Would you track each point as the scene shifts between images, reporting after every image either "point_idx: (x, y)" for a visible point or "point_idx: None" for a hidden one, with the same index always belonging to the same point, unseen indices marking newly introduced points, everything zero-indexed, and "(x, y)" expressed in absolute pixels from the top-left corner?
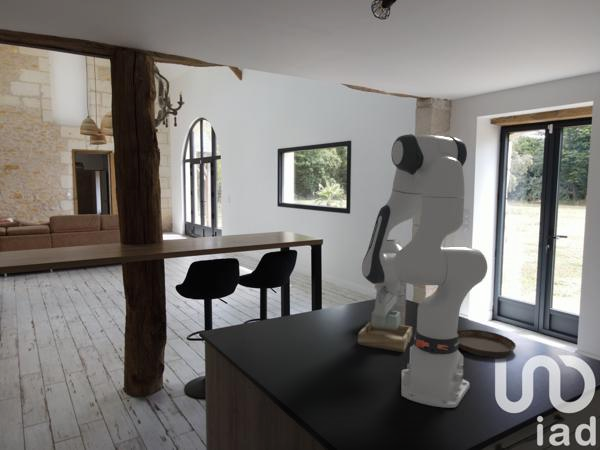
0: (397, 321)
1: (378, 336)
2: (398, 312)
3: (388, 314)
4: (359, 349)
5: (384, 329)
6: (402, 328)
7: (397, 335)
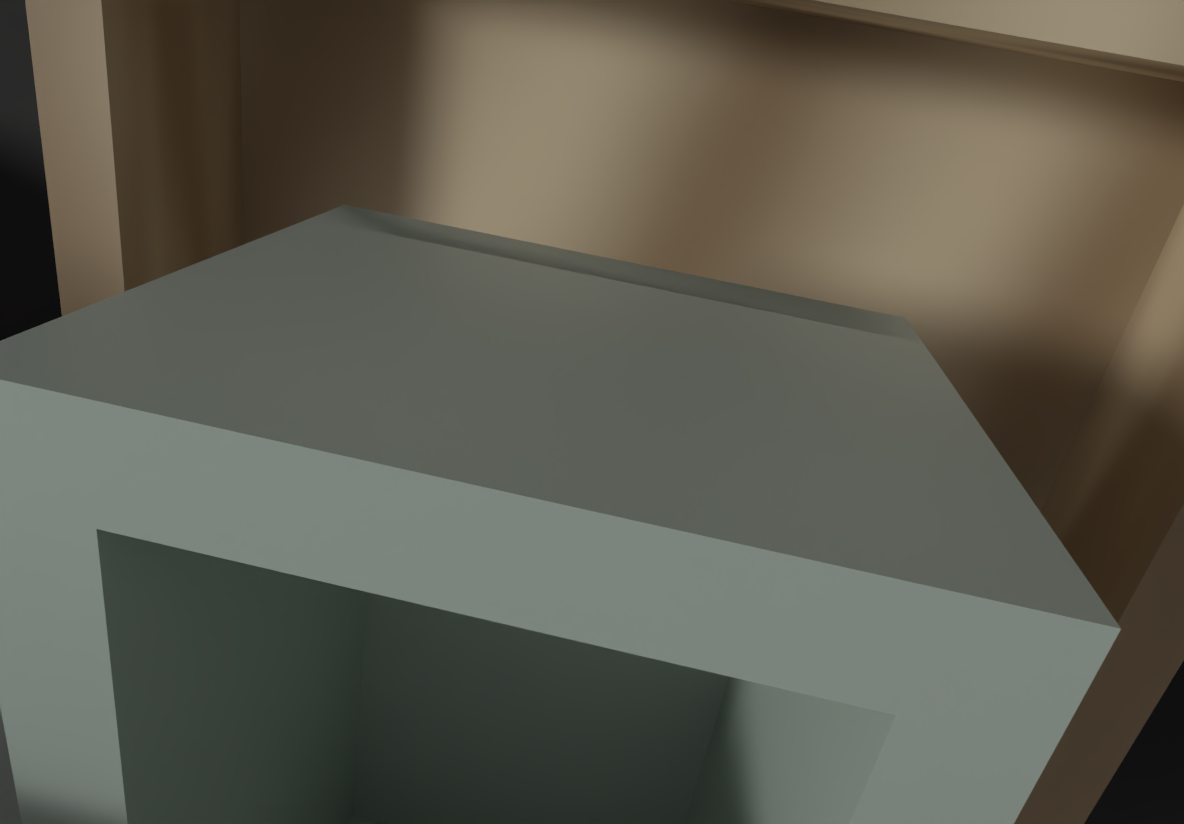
0: (786, 390)
1: (1139, 708)
2: (140, 483)
3: (238, 762)
4: (1153, 810)
5: None
6: (155, 95)
7: (384, 200)
